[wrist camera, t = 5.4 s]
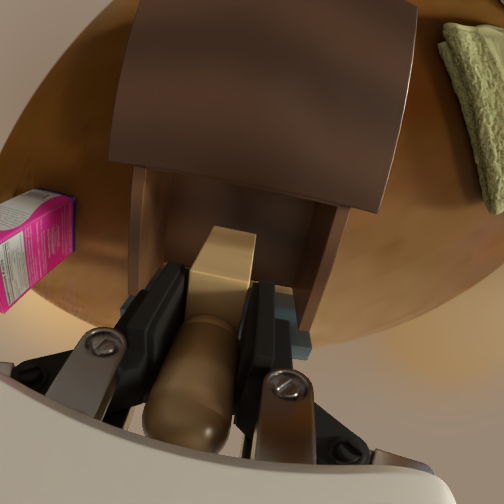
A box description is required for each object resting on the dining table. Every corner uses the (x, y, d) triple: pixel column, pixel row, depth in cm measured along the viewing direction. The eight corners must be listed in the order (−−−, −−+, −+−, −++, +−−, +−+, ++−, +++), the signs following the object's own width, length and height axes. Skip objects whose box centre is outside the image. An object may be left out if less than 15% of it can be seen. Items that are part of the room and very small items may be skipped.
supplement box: (36, 240, 25) (-37, 291, 15) (35, 186, 23) (-50, 224, 12) (76, 254, 25) (2, 317, 15) (77, 196, 23) (-12, 242, 13)
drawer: (287, 341, 27) (291, 395, 21) (150, 313, 27) (124, 360, 20) (337, 179, 21) (365, 199, 15) (163, 145, 21) (124, 152, 14)
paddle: (209, 224, 14) (117, 391, 5) (260, 234, 14) (241, 422, 5) (197, 311, 16) (140, 477, 7) (241, 320, 16) (214, 494, 7)
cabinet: (340, 185, 22) (378, 214, 14) (159, 149, 21) (106, 161, 14) (371, 41, 17) (418, 6, 9) (190, 6, 17) (155, -42, 9)
